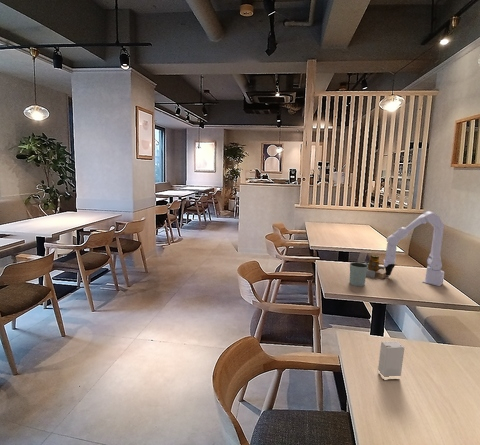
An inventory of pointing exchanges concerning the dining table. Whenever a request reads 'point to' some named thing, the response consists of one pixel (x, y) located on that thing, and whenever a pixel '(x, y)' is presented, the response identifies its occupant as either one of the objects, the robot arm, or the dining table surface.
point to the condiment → (373, 263)
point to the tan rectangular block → (380, 273)
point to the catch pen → (372, 273)
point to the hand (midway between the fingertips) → (388, 275)
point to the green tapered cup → (358, 273)
